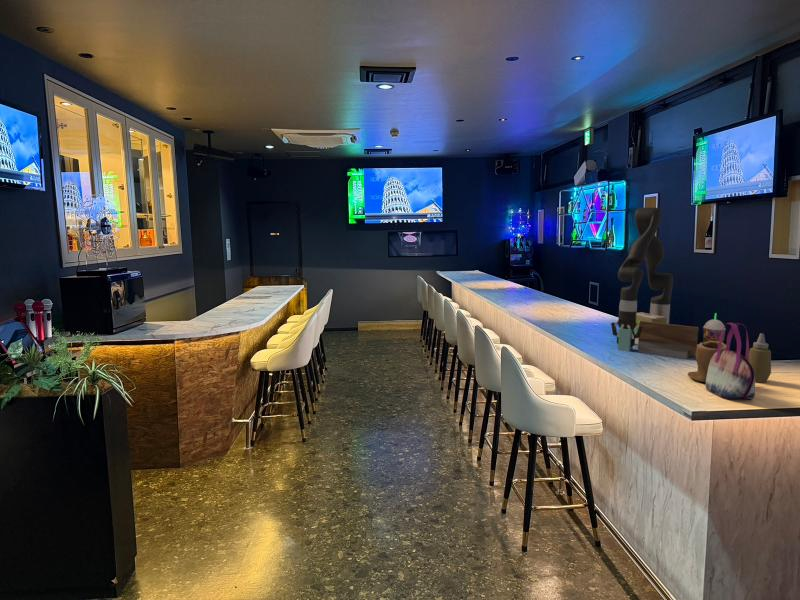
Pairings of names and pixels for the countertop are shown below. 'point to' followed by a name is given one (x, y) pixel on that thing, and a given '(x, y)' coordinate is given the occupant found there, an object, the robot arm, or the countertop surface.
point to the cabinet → (624, 340)
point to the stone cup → (704, 359)
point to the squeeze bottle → (760, 359)
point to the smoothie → (713, 330)
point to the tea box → (647, 320)
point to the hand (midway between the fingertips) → (625, 345)
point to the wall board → (668, 340)
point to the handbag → (731, 370)
